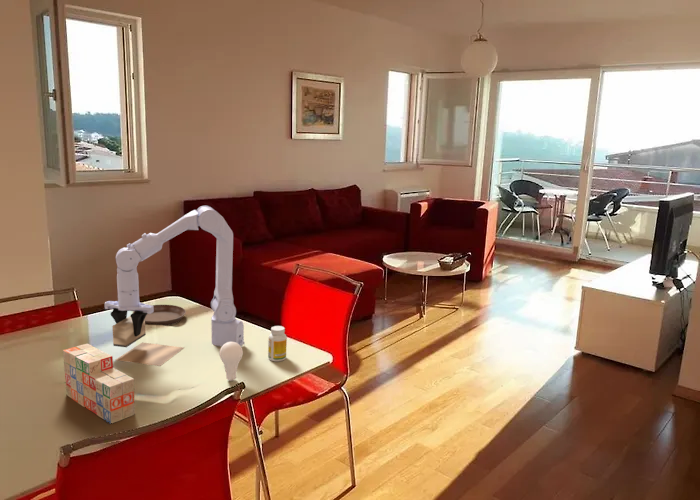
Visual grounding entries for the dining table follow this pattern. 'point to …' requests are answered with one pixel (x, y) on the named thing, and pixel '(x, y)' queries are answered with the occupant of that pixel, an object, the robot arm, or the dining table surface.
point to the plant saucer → (165, 315)
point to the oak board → (150, 354)
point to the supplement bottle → (277, 344)
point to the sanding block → (126, 333)
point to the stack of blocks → (98, 383)
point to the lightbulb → (231, 358)
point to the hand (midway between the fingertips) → (130, 334)
